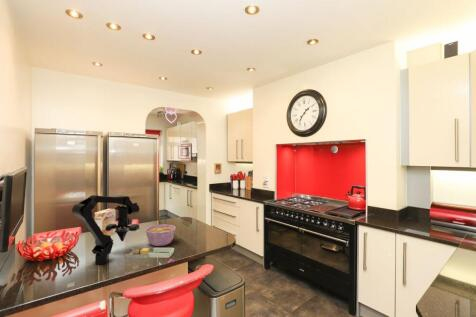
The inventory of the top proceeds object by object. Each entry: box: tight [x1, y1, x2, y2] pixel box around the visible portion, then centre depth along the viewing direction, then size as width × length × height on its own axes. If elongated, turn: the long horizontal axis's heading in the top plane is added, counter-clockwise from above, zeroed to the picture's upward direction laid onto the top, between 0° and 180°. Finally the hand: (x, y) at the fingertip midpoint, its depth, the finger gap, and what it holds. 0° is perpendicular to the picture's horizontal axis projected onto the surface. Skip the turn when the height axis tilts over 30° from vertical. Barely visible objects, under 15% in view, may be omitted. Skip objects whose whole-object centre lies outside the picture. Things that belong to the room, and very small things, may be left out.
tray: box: [148, 247, 175, 259], centre depth 142 cm, size 9×13×3 cm
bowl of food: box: [145, 223, 176, 247], centre depth 161 cm, size 20×20×12 cm
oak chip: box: [131, 247, 143, 254], centre depth 142 cm, size 4×4×3 cm
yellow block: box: [140, 247, 150, 254], centre depth 142 cm, size 4×4×3 cm
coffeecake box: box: [94, 208, 117, 236], centre depth 179 cm, size 15×7×20 cm, turn 171°
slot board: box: [124, 247, 155, 259], centre depth 142 cm, size 11×14×2 cm
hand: (122, 241), depth 143 cm, fingers closed
